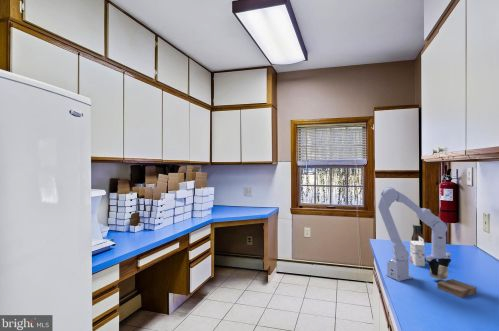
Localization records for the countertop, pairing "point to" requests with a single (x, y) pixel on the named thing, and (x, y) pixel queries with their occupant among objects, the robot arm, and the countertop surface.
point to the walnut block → (456, 288)
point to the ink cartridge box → (417, 252)
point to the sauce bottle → (416, 232)
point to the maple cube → (440, 273)
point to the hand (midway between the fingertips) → (438, 274)
